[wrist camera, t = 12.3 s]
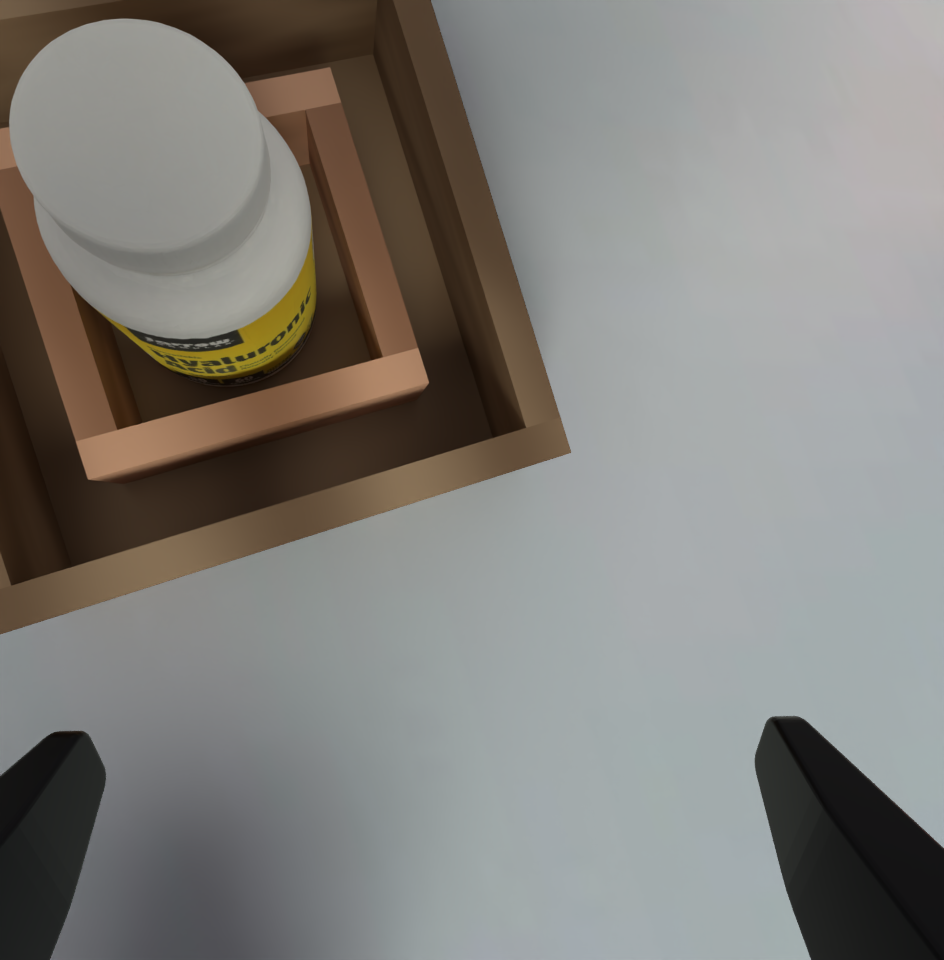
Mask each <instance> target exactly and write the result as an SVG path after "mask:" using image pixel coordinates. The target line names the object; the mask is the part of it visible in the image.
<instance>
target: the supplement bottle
mask: <svg viewBox="0 0 944 960" xmlns="http://www.w3.org/2000/svg"><path fill="white" fill-rule="evenodd" d="M9 130H10V141H11V146H12V150H13V154H14V158H15V161H16V165H17V167H18V169H19V171H20V173H21V176H22V178H23V180H24V181H25V183H26V185H27V187H28V188H29V190H30V191H31V193H32V194H33V196H34V208H35V213H36V219H37V223H38V227H39V230H40V233H41V236H42V239H43V241H44V243H45V246H46V248H47V250H48V252H49V253H50V255H51V257H52V259H53V261H54V262H55V264H56V265H57V267H58V268H59V270H60V271H61V273H62V274H63V276H64V277H65V278H66V280H67V281H68V282H69V283H70V284H71V286H72V287H73V288H74V289H75V290H76V291H77V292H78V293H79V294H80V296H81V297H82V298H83V299H84V300H86V301H87V302H88V303H89V304H90V305H91V306H92V307H93V308H95V309H96V310H97V311H98V312H99V313H100V314H102V315H103V316H104V317H105V318H106V319H107V320H109V321H110V322H111V323H112V324H113V325H115V326H116V327H117V328H118V329H119V330H121V331H122V332H123V333H124V334H125V335H127V336H128V337H129V338H130V339H131V340H133V341H134V342H135V343H136V344H137V345H139V346H140V347H141V348H142V349H143V350H144V351H146V352H147V353H148V354H149V355H150V356H151V357H153V358H154V359H155V360H156V361H157V362H159V363H160V364H161V365H162V366H164V367H165V368H167V369H168V370H170V371H172V372H174V373H176V374H178V375H180V376H182V377H184V378H186V379H188V380H191V381H194V382H197V383H201V384H205V385H210V386H219V387H234V386H242V385H247V384H252V383H255V382H258V381H261V380H264V379H266V378H268V377H270V376H272V375H274V374H275V373H277V372H279V371H280V370H282V369H283V368H284V367H285V366H287V365H288V364H289V363H290V362H291V361H292V360H293V359H294V358H295V357H296V356H297V354H298V353H299V352H300V351H301V349H302V347H303V346H304V344H305V343H306V341H307V339H308V337H309V335H310V332H311V330H312V326H313V323H314V318H315V313H316V294H317V292H316V275H315V260H314V244H313V230H312V216H311V206H310V201H309V196H308V192H307V187H306V184H305V180H304V177H303V174H302V172H301V169H300V167H299V165H298V163H297V161H296V158H295V157H294V155H293V153H292V151H291V150H290V148H289V146H288V145H287V143H286V142H285V140H284V139H283V138H282V136H281V135H280V134H279V132H278V131H277V130H276V128H275V127H274V126H273V125H272V124H271V123H270V122H269V121H268V120H267V119H266V118H265V117H264V116H263V115H262V114H261V113H260V112H259V111H258V110H257V107H256V104H255V102H254V100H253V98H252V96H251V94H250V92H249V90H248V89H247V87H246V85H245V83H244V82H243V81H242V79H241V78H240V76H239V75H238V74H237V72H236V71H235V70H234V69H233V68H232V66H231V65H230V64H229V63H228V62H227V61H226V60H225V59H224V58H223V57H222V56H220V55H219V54H218V53H217V52H216V51H215V50H213V49H212V48H210V47H209V46H207V45H206V44H205V43H203V42H202V41H200V40H199V39H197V38H195V37H194V36H192V35H190V34H188V33H186V32H184V31H181V30H179V29H176V28H174V27H171V26H168V25H165V24H162V23H158V22H153V21H148V20H139V19H111V20H102V21H98V22H94V23H89V24H85V25H83V26H80V27H78V28H75V29H72V30H70V31H68V32H66V33H65V34H63V35H61V36H59V37H58V38H56V39H55V40H53V41H51V42H50V43H49V44H48V45H47V46H45V47H44V48H43V49H42V50H41V51H40V52H39V53H38V54H37V55H36V56H35V58H34V59H33V60H32V61H31V62H30V64H29V65H28V66H27V68H26V69H25V71H24V73H23V74H22V76H21V78H20V80H19V82H18V85H17V87H16V90H15V93H14V96H13V99H12V102H11V108H10V117H9Z"/></svg>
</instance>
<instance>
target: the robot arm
mask: <svg viewBox="0 0 944 960" xmlns="http://www.w3.org/2000/svg"><path fill="white" fill-rule="evenodd" d="M755 769H756V775H757V779H758V782H759V786H760V790H761V794H762V798H763V802H764V806H765V810H766V814H767V818H768V822H769V826H770V830H771V834H772V838H773V842H774V845H775V849H776V853H777V857H778V861H779V865H780V869H781V873H782V876H783V880H784V884H785V887H786V891H787V894H788V897H789V900H790V903H791V906H792V908H793V911H794V914H795V917H796V920H797V922H798V925H799V928H800V930H801V933H802V936H803V939H804V941H805V944H806V947H807V950H808V952H809V955H810V958H811V960H944V848H943V847H942V846H941V845H940V844H939V843H938V842H936V841H935V840H934V839H933V838H932V837H931V836H930V835H929V834H928V833H927V832H926V831H925V830H924V829H922V828H921V827H920V826H919V825H918V824H917V823H916V822H915V821H914V820H913V819H912V818H911V817H909V816H908V815H907V814H906V813H905V812H904V811H903V810H902V809H901V808H900V807H899V806H898V805H897V804H895V803H894V802H893V801H892V800H891V799H890V798H889V797H888V796H887V795H886V794H885V793H884V792H883V791H881V790H880V789H879V788H878V787H877V786H876V785H875V784H874V783H873V782H872V781H871V780H870V779H868V778H867V777H866V776H865V775H864V774H863V773H862V772H861V771H860V770H859V769H858V768H857V767H856V766H854V765H853V764H852V763H851V762H850V761H849V760H848V759H847V758H846V757H845V756H844V755H843V754H842V753H840V752H839V751H838V750H837V749H836V748H835V747H834V746H833V745H832V744H831V743H830V742H829V741H828V740H826V739H825V738H824V737H823V736H822V735H821V734H820V733H819V732H818V731H817V730H816V729H815V728H813V727H812V726H811V725H810V724H809V723H808V722H807V721H806V720H804V719H802V718H800V717H797V716H775V717H771V718H769V719H768V720H767V722H766V724H765V727H764V730H763V733H762V736H761V739H760V742H759V745H758V748H757V751H756V754H755ZM105 781H106V772H105V767H104V765H103V763H102V761H101V758H100V756H99V754H98V752H97V750H96V748H95V746H94V744H93V742H92V740H91V738H90V736H89V735H88V734H87V733H86V732H84V731H59V732H54V733H52V734H50V735H48V736H47V737H45V738H44V739H43V740H42V741H41V742H39V743H38V744H37V745H36V746H35V747H34V748H32V749H31V750H30V751H29V752H28V753H27V754H25V755H24V756H23V757H22V758H21V759H20V760H18V761H17V762H16V763H15V764H14V765H13V766H11V767H10V768H9V769H8V770H7V771H6V772H4V773H3V774H2V775H1V776H0V960H50V958H51V955H52V953H53V950H54V948H55V945H56V943H57V940H58V937H59V935H60V932H61V930H62V927H63V925H64V922H65V919H66V916H67V914H68V911H69V908H70V905H71V902H72V899H73V896H74V893H75V889H76V886H77V883H78V879H79V876H80V872H81V869H82V865H83V862H84V858H85V854H86V851H87V847H88V844H89V840H90V837H91V833H92V830H93V826H94V823H95V819H96V816H97V812H98V809H99V805H100V801H101V798H102V794H103V791H104V787H105Z"/></svg>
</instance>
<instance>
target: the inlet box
mask: <svg viewBox="0 0 944 960" xmlns="http://www.w3.org/2000/svg"><path fill="white" fill-rule="evenodd" d="M111 19H139V20H148V21H153V22H158V23H162V24H165V25H168V26H171V27H174V28H176V29H179V30H181V31H184V32H186V33H188V34H190V35H192V36H194V37H195V38H197V39H199V40H200V41H202V42H203V43H205V44H206V45H207V46H209V47H210V48H212V49H213V50H215V51H216V52H217V53H218V54H219V55H220V56H222V57H223V58H224V59H225V60H226V61H227V62H228V63H229V64H230V65H231V66H232V68H233V69H234V70H235V71H236V72H237V74H238V75H239V76H240V78H241V79H242V81H243V82H244V83H245V85H246V87H247V89H248V90H249V92H250V94H251V96H252V98H253V100H254V102H255V104H256V107H257V110H258V111H259V112H260V113H261V114H262V115H263V116H264V117H265V118H266V119H267V120H268V121H269V122H270V123H271V124H272V125H273V126H274V127H275V128H276V130H277V131H278V132H279V134H280V135H281V136H282V138H283V139H284V140H285V142H286V143H287V145H288V146H289V148H290V150H291V151H292V153H293V155H294V157H295V158H296V161H297V163H298V165H299V167H300V169H301V172H302V174H303V177H304V180H305V184H306V187H307V192H308V196H309V201H310V206H311V216H312V230H313V244H314V260H315V275H316V292H317V294H316V313H315V318H314V323H313V326H312V330H311V332H310V335H309V337H308V339H307V341H306V343H305V344H304V346H303V347H302V349H301V351H300V352H299V353H298V354H297V356H296V357H295V358H294V359H293V360H292V361H291V362H290V363H289V364H288V365H287V366H285V367H284V368H283V369H282V370H280V371H279V372H277V373H275V374H274V375H272V376H270V377H268V378H266V379H264V380H261V381H258V382H255V383H252V384H247V385H242V386H234V387H219V386H210V385H205V384H201V383H197V382H194V381H191V380H188V379H186V378H184V377H182V376H180V375H178V374H176V373H174V372H172V371H170V370H168V369H167V368H165V367H164V366H162V365H161V364H160V363H159V362H157V361H156V360H155V359H154V358H153V357H151V356H150V355H149V354H148V353H147V352H146V351H144V350H143V349H142V348H141V347H140V346H139V345H137V344H136V343H135V342H134V341H133V340H131V339H130V338H129V337H128V336H127V335H125V334H124V333H123V332H122V331H121V330H119V329H118V328H117V327H116V326H115V325H113V324H112V323H111V322H110V321H109V320H107V319H106V318H105V317H104V316H103V315H102V314H100V313H99V312H98V311H97V310H96V309H95V308H93V307H92V306H91V305H90V304H89V303H88V302H87V301H86V300H84V299H83V298H82V297H81V296H80V294H79V293H78V292H77V291H76V290H75V289H74V288H73V287H72V286H71V284H70V283H69V282H68V281H67V280H66V278H65V277H64V276H63V274H62V273H61V271H60V270H59V268H58V267H57V265H56V264H55V262H54V261H53V259H52V257H51V255H50V253H49V252H48V250H47V248H46V246H45V243H44V241H43V239H42V236H41V233H40V230H39V227H38V223H37V219H36V213H35V208H34V196H33V194H32V193H31V191H30V190H29V188H28V187H27V185H26V183H25V181H24V180H23V178H22V176H21V173H20V171H19V169H18V167H17V165H16V161H15V158H14V154H13V150H12V146H11V141H10V130H9V117H10V108H11V102H12V99H13V96H14V93H15V90H16V87H17V85H18V82H19V80H20V78H21V76H22V74H23V73H24V71H25V69H26V68H27V66H28V65H29V64H30V62H31V61H32V60H33V59H34V58H35V56H36V55H37V54H38V53H39V52H40V51H41V50H42V49H43V48H44V47H45V46H47V45H48V44H49V43H50V42H51V41H53V40H55V39H56V38H58V37H59V36H61V35H63V34H65V33H66V32H68V31H70V30H72V29H75V28H78V27H80V26H83V25H85V24H89V23H94V22H98V21H102V20H111ZM569 453H571V450H570V447H569V444H568V441H567V437H566V434H565V431H564V428H563V424H562V421H561V418H560V415H559V412H558V408H557V405H556V402H555V399H554V396H553V392H552V389H551V386H550V383H549V379H548V376H547V373H546V370H545V367H544V363H543V360H542V357H541V354H540V350H539V347H538V344H537V341H536V338H535V334H534V331H533V328H532V325H531V322H530V318H529V315H528V312H527V309H526V305H525V302H524V299H523V296H522V293H521V289H520V286H519V283H518V280H517V276H516V273H515V270H514V267H513V264H512V260H511V257H510V254H509V251H508V248H507V244H506V241H505V238H504V235H503V231H502V228H501V225H500V222H499V219H498V215H497V212H496V209H495V206H494V202H493V199H492V196H491V193H490V190H489V186H488V183H487V180H486V177H485V174H484V170H483V167H482V164H481V161H480V157H479V154H478V151H477V148H476V145H475V141H474V138H473V135H472V132H471V128H470V125H469V122H468V119H467V116H466V112H465V109H464V106H463V103H462V100H461V96H460V93H459V90H458V87H457V83H456V80H455V77H454V74H453V71H452V67H451V64H450V61H449V58H448V54H447V51H446V48H445V45H444V42H443V38H442V35H441V32H440V29H439V26H438V22H437V19H436V16H435V13H434V9H433V6H432V3H431V0H0V634H3V633H6V632H9V631H12V630H16V629H19V628H22V627H25V626H28V625H31V624H34V623H38V622H41V621H44V620H47V619H50V618H53V617H56V616H60V615H63V614H66V613H69V612H72V611H75V610H78V609H82V608H85V607H88V606H91V605H94V604H97V603H100V602H104V601H107V600H110V599H113V598H116V597H119V596H122V595H126V594H129V593H132V592H135V591H138V590H141V589H144V588H148V587H151V586H154V585H157V584H160V583H163V582H166V581H170V580H173V579H176V578H179V577H182V576H185V575H188V574H192V573H195V572H198V571H201V570H204V569H207V568H210V567H213V566H217V565H220V564H223V563H226V562H229V561H232V560H235V559H239V558H242V557H245V556H248V555H251V554H254V553H257V552H261V551H264V550H267V549H270V548H273V547H276V546H279V545H283V544H286V543H289V542H292V541H295V540H298V539H301V538H305V537H308V536H311V535H314V534H317V533H320V532H323V531H327V530H330V529H333V528H336V527H339V526H342V525H345V524H349V523H352V522H355V521H358V520H361V519H364V518H367V517H371V516H374V515H377V514H380V513H383V512H386V511H389V510H393V509H396V508H399V507H402V506H405V505H408V504H411V503H415V502H418V501H421V500H424V499H427V498H430V497H433V496H437V495H440V494H443V493H446V492H449V491H452V490H455V489H459V488H462V487H465V486H468V485H471V484H474V483H477V482H481V481H484V480H487V479H490V478H493V477H496V476H499V475H503V474H506V473H509V472H512V471H515V470H518V469H521V468H525V467H528V466H531V465H534V464H537V463H540V462H543V461H547V460H550V459H553V458H556V457H559V456H562V455H565V454H569Z"/></svg>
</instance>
